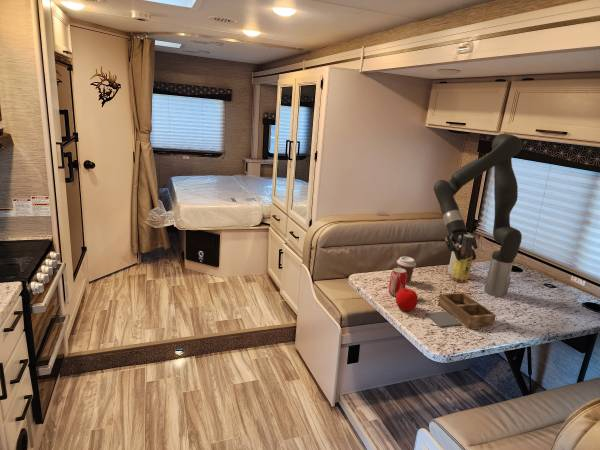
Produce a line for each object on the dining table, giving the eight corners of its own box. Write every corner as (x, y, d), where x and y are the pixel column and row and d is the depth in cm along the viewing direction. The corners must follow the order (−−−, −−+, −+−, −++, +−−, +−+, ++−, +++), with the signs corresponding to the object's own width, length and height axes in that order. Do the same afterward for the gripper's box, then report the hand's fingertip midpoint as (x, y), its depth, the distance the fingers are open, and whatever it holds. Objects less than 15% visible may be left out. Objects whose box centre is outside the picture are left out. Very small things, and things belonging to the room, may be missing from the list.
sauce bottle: (465, 285, 160) (475, 239, 154) (449, 281, 163) (459, 236, 157) (468, 280, 165) (478, 236, 159) (453, 276, 168) (462, 232, 162)
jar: (444, 271, 211) (450, 239, 206) (461, 271, 212) (468, 240, 207) (453, 279, 201) (459, 246, 196) (470, 279, 203) (478, 246, 198)
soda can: (404, 298, 176) (408, 274, 173) (388, 296, 177) (391, 271, 174) (403, 292, 183) (407, 268, 179) (388, 289, 184) (391, 265, 180)
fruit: (398, 301, 173) (401, 280, 170) (418, 307, 169) (422, 286, 166) (391, 309, 166) (394, 287, 163) (412, 316, 161) (416, 294, 158)
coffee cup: (403, 276, 200) (406, 254, 197) (416, 283, 193) (420, 261, 189) (390, 279, 196) (393, 256, 192) (403, 286, 188) (407, 263, 185)
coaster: (445, 312, 166) (446, 311, 166) (461, 325, 157) (461, 323, 157) (425, 314, 164) (425, 313, 163) (439, 327, 154) (440, 325, 154)
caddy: (460, 302, 177) (462, 292, 175) (493, 326, 158) (495, 315, 157) (437, 304, 173) (439, 294, 172) (468, 328, 155) (470, 317, 153)
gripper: (445, 218, 162) (457, 256, 154) (474, 218, 166) (487, 255, 158) (435, 227, 168) (446, 263, 161) (463, 227, 172) (476, 262, 165)
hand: (467, 259), depth 160 cm, fingers closed on sauce bottle, 6 cm apart
